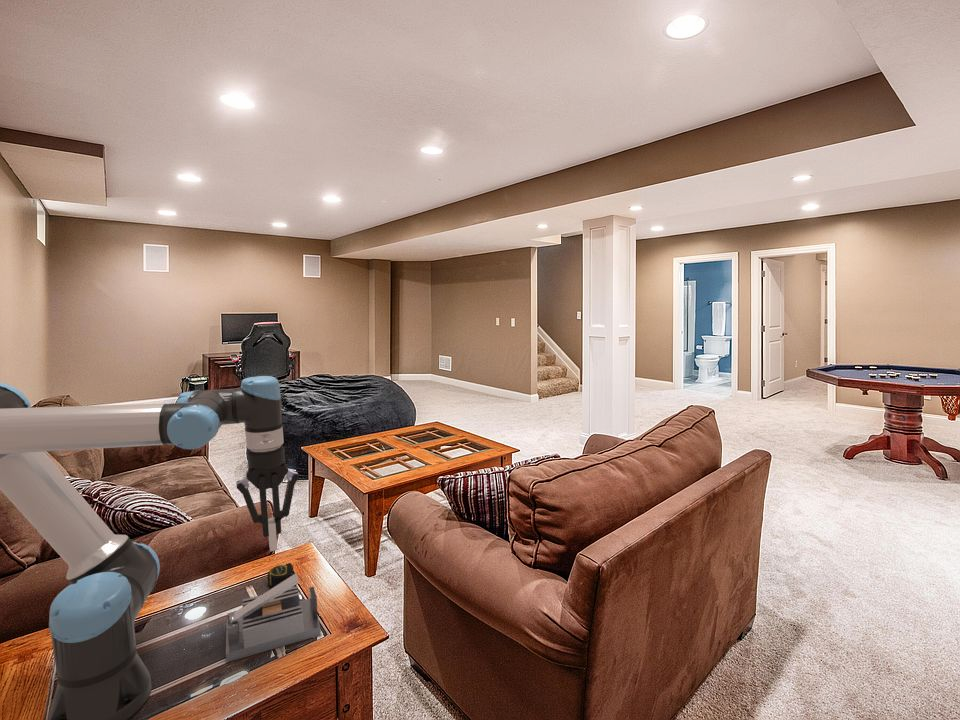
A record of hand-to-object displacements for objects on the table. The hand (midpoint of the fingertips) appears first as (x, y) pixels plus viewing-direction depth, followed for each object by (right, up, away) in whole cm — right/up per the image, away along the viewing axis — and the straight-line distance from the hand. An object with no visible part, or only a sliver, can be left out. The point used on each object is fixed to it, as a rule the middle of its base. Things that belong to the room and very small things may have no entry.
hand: (273, 547), depth 112 cm
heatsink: (0, -19, +1) cm, 19 cm away
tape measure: (-6, -17, +21) cm, 27 cm away
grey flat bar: (-1, -12, -1) cm, 12 cm away
